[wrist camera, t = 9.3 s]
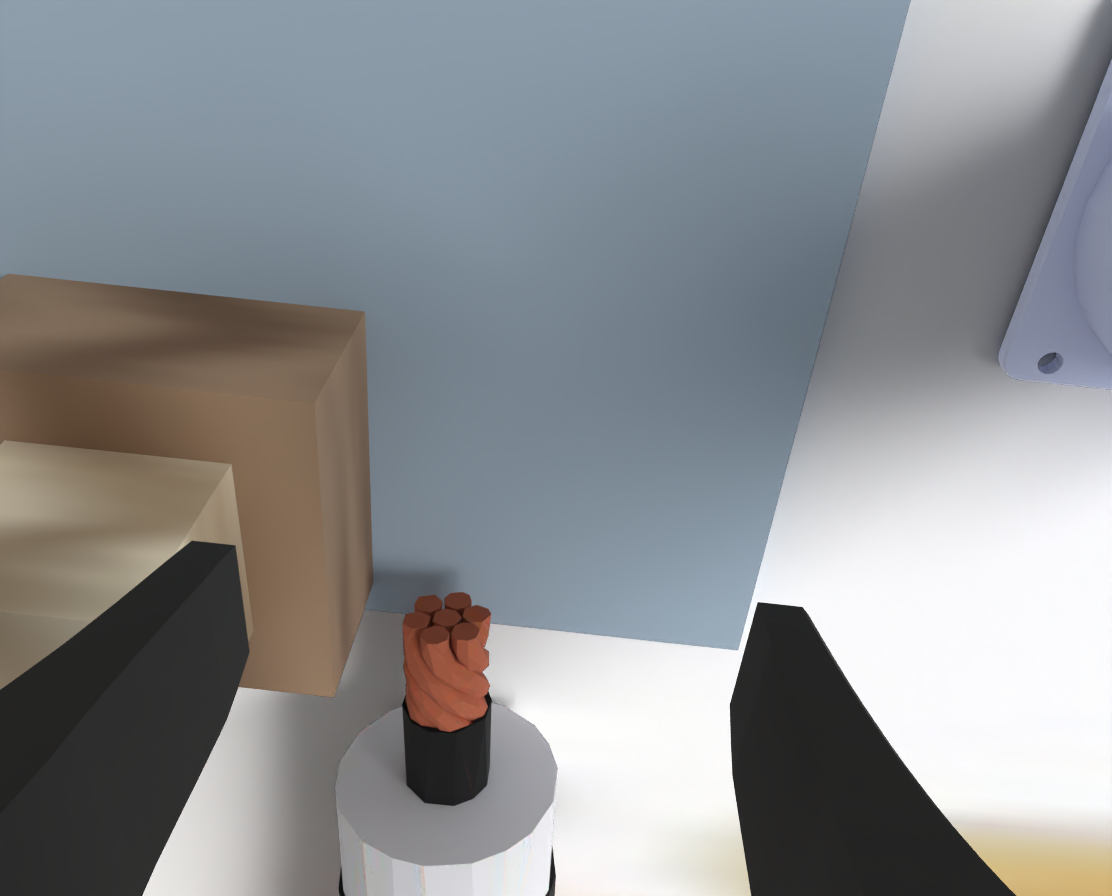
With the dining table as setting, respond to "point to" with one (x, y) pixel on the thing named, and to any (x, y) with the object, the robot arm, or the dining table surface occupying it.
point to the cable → (447, 776)
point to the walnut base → (219, 435)
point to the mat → (489, 253)
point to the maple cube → (95, 536)
